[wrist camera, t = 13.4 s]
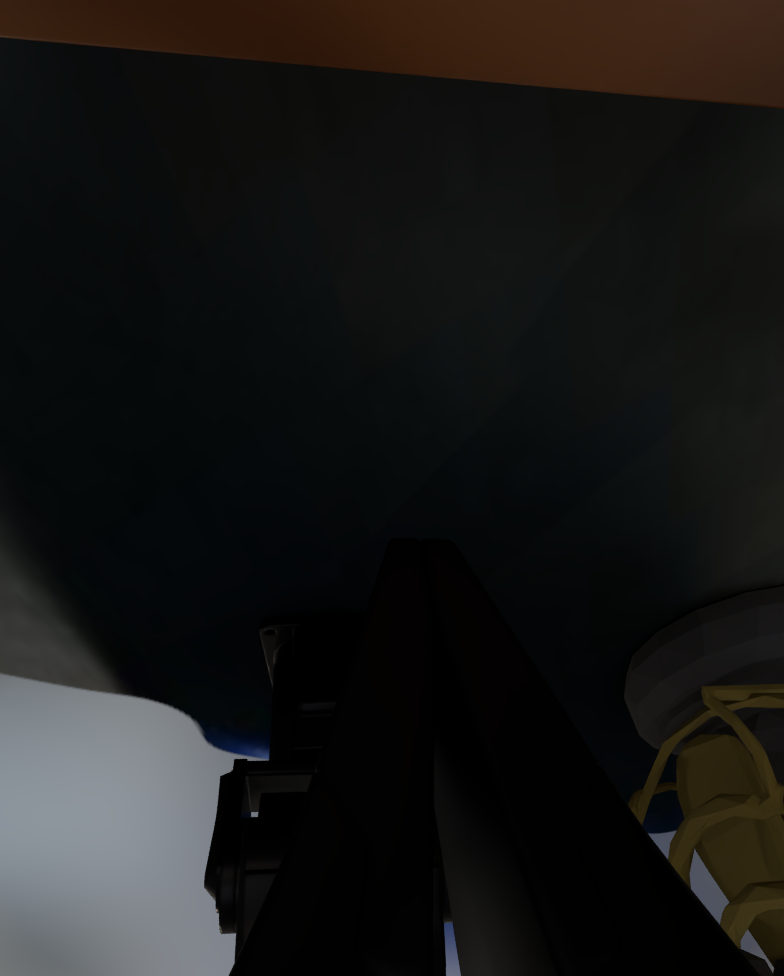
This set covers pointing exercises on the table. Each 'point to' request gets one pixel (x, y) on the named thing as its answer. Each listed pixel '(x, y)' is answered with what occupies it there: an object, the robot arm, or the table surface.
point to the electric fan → (722, 753)
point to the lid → (455, 39)
